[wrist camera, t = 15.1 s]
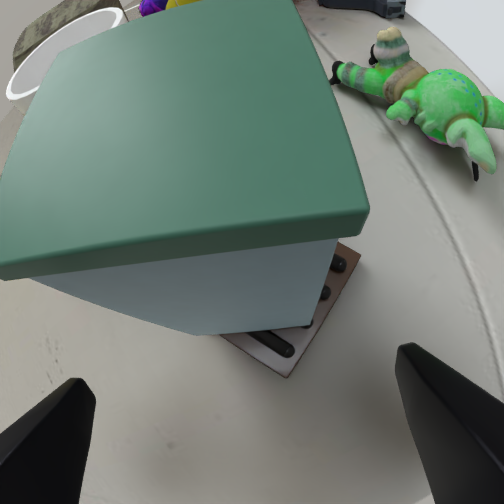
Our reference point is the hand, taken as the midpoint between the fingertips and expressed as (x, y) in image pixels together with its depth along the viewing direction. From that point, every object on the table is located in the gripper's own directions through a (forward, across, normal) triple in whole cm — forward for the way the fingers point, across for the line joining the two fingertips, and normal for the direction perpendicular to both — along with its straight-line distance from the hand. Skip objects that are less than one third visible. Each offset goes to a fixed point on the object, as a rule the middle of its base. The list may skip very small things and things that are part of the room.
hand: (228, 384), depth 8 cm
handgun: (+37, -14, -25) cm, 47 cm away
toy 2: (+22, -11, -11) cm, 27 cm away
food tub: (+9, 0, +2) cm, 9 cm away
